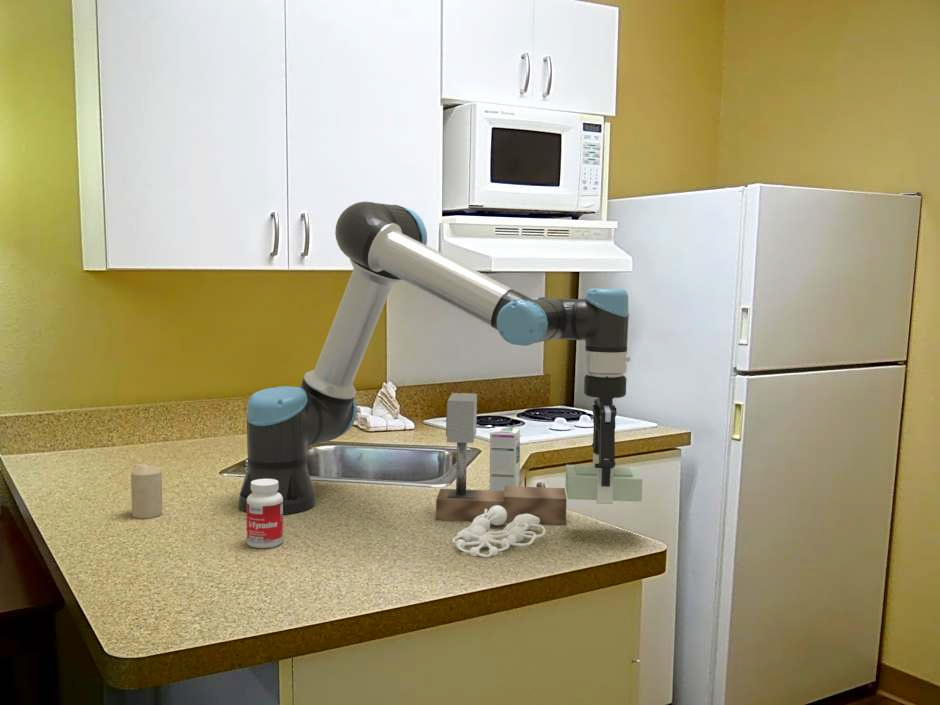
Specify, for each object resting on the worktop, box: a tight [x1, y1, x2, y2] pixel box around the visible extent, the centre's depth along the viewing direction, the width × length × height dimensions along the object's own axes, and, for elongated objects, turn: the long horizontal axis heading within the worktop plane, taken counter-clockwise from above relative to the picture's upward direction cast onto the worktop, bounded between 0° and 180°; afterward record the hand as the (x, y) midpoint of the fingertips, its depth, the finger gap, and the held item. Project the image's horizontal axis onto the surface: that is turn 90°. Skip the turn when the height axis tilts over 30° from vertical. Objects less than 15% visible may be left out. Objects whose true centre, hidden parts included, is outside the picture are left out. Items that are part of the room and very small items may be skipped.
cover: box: [564, 464, 643, 503], centre depth 154 cm, size 13×9×4 cm
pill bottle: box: [246, 479, 284, 549], centre depth 147 cm, size 6×6×11 cm
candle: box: [130, 462, 163, 520], centre depth 162 cm, size 6×6×10 cm
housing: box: [435, 486, 567, 525], centre depth 166 cm, size 25×8×5 cm, turn 86°
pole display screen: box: [445, 392, 478, 495], centre depth 165 cm, size 10×5×19 cm, turn 176°
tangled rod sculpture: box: [451, 505, 546, 558], centre depth 150 cm, size 19×14×4 cm
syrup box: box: [489, 426, 521, 491], centre depth 180 cm, size 6×6×14 cm
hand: (601, 495), depth 154 cm, fingers closed on cover, 9 cm apart
